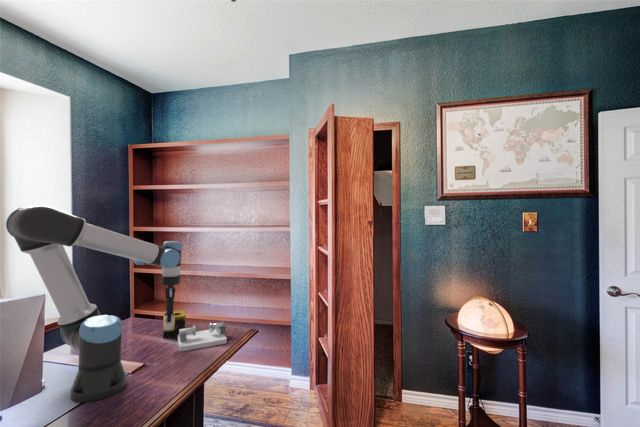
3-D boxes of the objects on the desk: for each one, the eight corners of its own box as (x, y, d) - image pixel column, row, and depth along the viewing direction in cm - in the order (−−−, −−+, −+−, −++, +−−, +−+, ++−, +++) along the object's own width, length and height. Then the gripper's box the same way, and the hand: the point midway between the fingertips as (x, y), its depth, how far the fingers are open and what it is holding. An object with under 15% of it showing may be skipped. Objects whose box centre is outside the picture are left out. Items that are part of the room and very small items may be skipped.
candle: (163, 331, 153) (164, 312, 153) (185, 328, 157) (185, 309, 158) (162, 338, 144) (163, 318, 144) (185, 335, 148) (185, 315, 148)
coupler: (163, 331, 131) (163, 316, 131) (163, 328, 135) (163, 313, 135) (174, 330, 133) (175, 315, 133) (174, 327, 137) (174, 312, 138)
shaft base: (179, 351, 130) (180, 333, 130) (177, 338, 144) (178, 322, 144) (226, 343, 140) (227, 326, 140) (220, 331, 154) (220, 316, 154)
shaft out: (212, 336, 142) (212, 324, 142) (208, 333, 146) (208, 321, 146) (225, 333, 147) (226, 321, 147) (221, 330, 150) (221, 319, 151)
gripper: (181, 278, 129) (178, 332, 128) (178, 272, 145) (176, 320, 144) (162, 279, 126) (159, 335, 125) (161, 272, 141) (158, 322, 140)
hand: (168, 327), depth 134 cm, fingers closed on coupler, 4 cm apart
